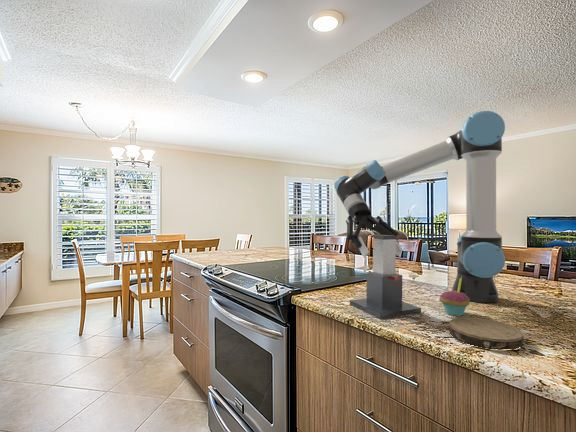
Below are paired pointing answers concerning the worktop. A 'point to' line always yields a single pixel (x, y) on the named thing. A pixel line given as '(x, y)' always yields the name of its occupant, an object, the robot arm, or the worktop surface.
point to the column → (384, 255)
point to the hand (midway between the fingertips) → (383, 254)
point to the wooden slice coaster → (486, 333)
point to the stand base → (384, 297)
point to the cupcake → (455, 301)
